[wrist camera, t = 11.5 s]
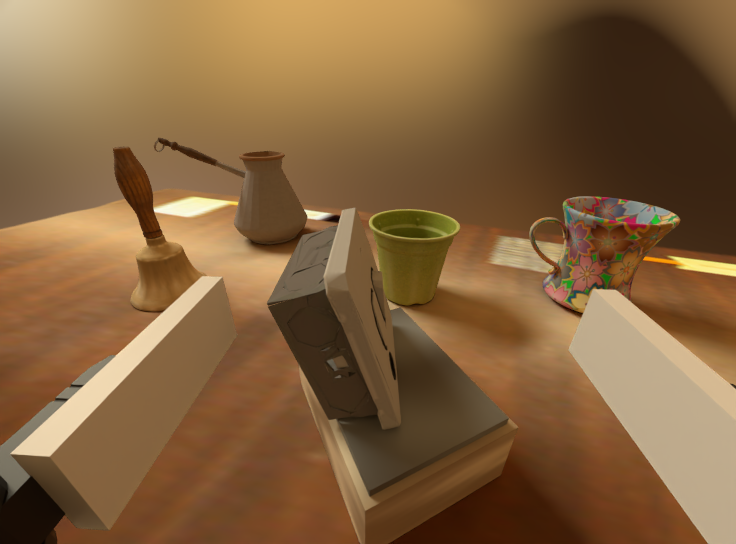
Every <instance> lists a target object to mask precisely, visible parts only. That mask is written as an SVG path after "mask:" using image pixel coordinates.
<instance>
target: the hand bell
mask: <svg viewBox="0 0 736 544" xmlns="http://www.w3.org/2000/svg"><path fill="white" fill-rule="evenodd" d="M113 151H114V170H115V177H116V180H117V183H118V185H119V188H120V190H121V192H122V194H123V195H124V197H125V199H126V200H127V202H128V203H129V204H130V206H131V207H132V208H133V210H134V211H135V213H136V214H137V217H138V219H139V222H140V226H141V229H142V231H143V235H144V237H146V242H147V246H146V247H144V248H142V249H141V250H140V251H139V252H138V253H137V255H136V260H137V264H138V269H139V282H138V286H137V288H136V289H135V290H134V291H133V293H132V296H131V304H132V305H133V307H135V308H136V309H139V310H142V311H150V312H159V311H165V310H166V309H167V308H168V307H169V306H171V305H172V304H173V303H174V302H175V301H176V300H177V299H178V298H179V297H180V296H181V295H182V294H183V293H185V292H186V291H187V290H188V289H189V288H190V287H191V286H192V285H193V284H194V283H195V282H196V281H198V280H199V279H200V278H201V277H202V276H207V275H205V274H204V273H202V272H199V271H198V270H196V269H195V268H194V267H193V266H192V264H191V263H190V261H189V260H188V258H187V256H186V254H185V252H184V250H183V248H182V246H181V245H179V244H177V243H173V242H167V241H166V240H165V237H164V235H163V234H162V230H161V229H160V226H159V223H158V221H157V219H156V216H155V213H154V209H153V193H152V188H151V185H150V181H149V179H148V176H147V174H146V172H145V170H144V168H143V167H142V165H141V164H140V163H139V161H138V160H137V159H136V157H135V156H134V155H133V153H132V151H131V150H130V148H129V147H115V148H113Z"/></svg>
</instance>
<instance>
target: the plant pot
mask: <svg viewBox="0 0 736 544" xmlns="http://www.w3.org/2000/svg"><path fill="white" fill-rule="evenodd" d="M369 226H370V228H371V230H372V231H373V234H374V239H375V241H376V242H377V251H378V259H379V267H380V272H382V277H383V289H384V292H385V295H386V298H387V299H389V300H390V301H392V302H395V303H398V304H401V305H411V304H415V303H419V304H425V303H427V302H429V301H430V300H432V298H433V297H434V294H435V291H436V288H437V284H438V281H439V277H440V274H441V271H442V267H443V264H444V261H445V258H446V254H447V251H448V248H449V246H450V245H451V244H452V242H453V238H454V236H456V235H457V234H458V232H459V230H460V225H459V223H458V222H457V221H456V220H454V219H453V218H450V217H448V216H446V215H443V214H439V213H435V212H430V211H425V210H411V209H409V210H408V209H407V210H402V209H401V210H391V211H386V212H381V213H378V214H376V215H374V216H372V217H371V218H370V220H369Z"/></svg>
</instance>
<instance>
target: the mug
mask: <svg viewBox="0 0 736 544" xmlns="http://www.w3.org/2000/svg"><path fill="white" fill-rule="evenodd" d="M563 209H564V215H565V224H564V223H563V222H561V221H560V220H558V219H556V218H551V217H547V218H542V219H539V220H538V221H536V222H535V223H534V224H533V225H532V227H531V229H530V241H531V244H532V246H533V248H534V250H535V251H536V252H537V254H538V255H539V256H540V257H541V258H542V259H543V260H544V261H546V262H547V263H549V264H550V265H552V266H554V267H553V268H552V269H551V270H549V271H548V272H549V275H548V276H547V277H546V278H545V279H544V281H543V288H544V290H545V292H546V293H547V294H548V295H549V296H550V297H551V298H552V299H553V300H555V301H556V302H558V303H560V304H561V305H563V306H565V307H567V308H570V309H572V310H575V311H578V312H581V313H584V310H585V308H586V305H587V303H588V300H589V298H590V296H591V293H592V291H593V289H604V290H617V291H618V292H619V293H621V294H622V295H623V296H624V297H625V298H627V299H628V300H629V301H630V302H631V297H630V291H631V284H632V280H633V277H634V275H635V272H636V270H637V268H638V267H639V265H640V263H641V262H642V260H643V259H644V257H645V256H646V255H647V253H648V252H649V251H650V250H651V249H652V248H653V246H654V245H655V244H656V243H657V242H658V241H659V240H660V239H661V238H662V237H664V236H665V235H666V234H667V233H668V232H670V231H671V230H672V229H673V228H675V227H676V226H677V225H678V224H679V222H680V219H679V218H678V216H677V215H675V214H674V213H672V212H670V211H667V210H665V209H662V208H659V207H656V206H652V205H648V204H644V203H640V202H634V201H629V200H623V199H616V198H606V197H575V198H570V199H567V200H565V201H564V203H563ZM545 222H554V223H557V224H558V225H560V226H561V228H562V230H563V238H564V239H565V241H564V246H563V250H562V254H561V256H560V259H559V261H558V263H555V262H554V261H552V260H550V259H549V258H547V257H546V256H545V255H544V254H543V253H542V252H541V251H540V250H539V248H538V246H537V245H536V242H535V238H534V232H535V230H536V228H537V227H538V226H539V225H540V224H542V223H545ZM631 303H632V302H631Z"/></svg>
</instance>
